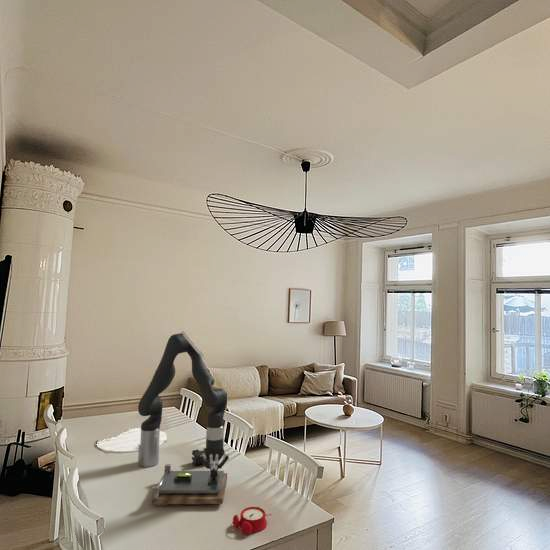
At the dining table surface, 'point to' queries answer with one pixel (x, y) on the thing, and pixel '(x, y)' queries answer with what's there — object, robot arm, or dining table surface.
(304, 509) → the dining table surface
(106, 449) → the white flat irregular sheet
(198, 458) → the black camera
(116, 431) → the dining table surface
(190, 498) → the wooden fixture base
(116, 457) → the dining table surface
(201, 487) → the plate
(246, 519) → the alarm clock
